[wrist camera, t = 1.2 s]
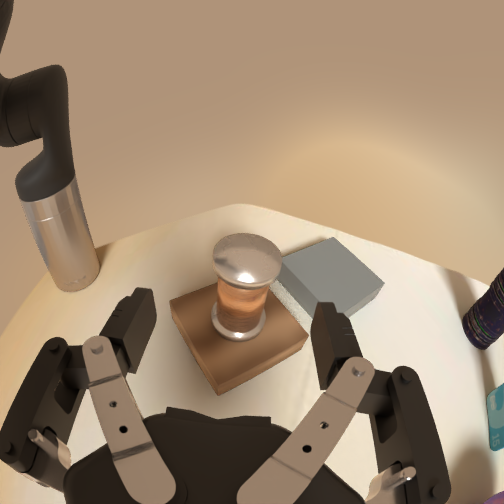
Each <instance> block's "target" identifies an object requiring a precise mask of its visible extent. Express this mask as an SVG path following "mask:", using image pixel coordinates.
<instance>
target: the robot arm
mask: <svg viewBox="0 0 504 504" xmlns="http://www.w3.org/2000/svg"><path fill="white" fill-rule="evenodd" d="M13 3H14V0H0V52H1V49H2V46H3V43H4V40H5V37H6V33H7V30H8V27H9V24H10V20H11V16H12V11H13ZM39 138H43V145H44V147H43V151H42V152H41V153H40V154H39V155H38V156H37V157H35V158H34V159H33V160H31V161H30V162H29V163H27V164H26V165H25V166H24V167H23V168H22V169H21V170H20V172H19V173H18V174H17V176H16V180H15V185H16V189H17V192H18V196H19V199H20V202H21V204H22V208H23V210H24V213H25V216H26V218H27V221H28V224H29V226H30V229H31V232H32V234H33V237H34V239H35V241H36V244H37V246H38V248H39V250H40V253H41V255H42V257H43V259H44V261H45V264H46V266H47V268H48V270H49V272H50V274H51V276H52V278H53V280H54V282H55V284H56V285H57V287H58V288H60V289H61V290H63V291H67V292H74V291H78V290H81V289H83V288H85V287H87V286H88V285H90V284H91V283H92V282H93V281H94V280H95V278H96V277H97V275H98V273H99V269H100V264H99V260H98V257H97V254H96V251H95V248H94V245H93V241H92V238H91V235H90V232H89V228H88V224H87V221H86V217H85V213H84V209H83V205H82V201H81V197H80V193H79V188H78V184H77V180H76V174H75V169H74V163H73V156H72V148H71V140H70V131H69V113H68V84H67V77H66V73H65V71H64V69H63V68H62V66H60V65H51V66H47V67H44V68H40V69H37V70H34V71H31V72H29V73H25V74H23V75H20V76H18V77H15V78H12V79H8V78H5V77H3V76H2V75H1V74H0V146H2V147H14V146H18V145H21V144H24V143H27V142H30V141H33V140H36V139H39ZM156 318H157V314H156V308H155V302H154V297H153V291H152V289H147V288H139V287H137V288H136V289H135V290H134V292H133V294H132V295H131V297H130V296H126V297H125V298H123V299H122V300H121V301H120V302H119V303H118V304H117V306H116V308H115V310H114V311H113V312H112V314H111V316H110V317H109V319H108V321H107V322H106V324H105V326H104V327H103V329H102V331H101V332H100V334H99V336H94V337H91V338H89V339H88V340H87V341H86V342H85V343H84V344H83V345H79V346H68V344H67V342H66V341H65V340H64V339H63V338H61V337H54V338H51V339H49V340H48V341H47V342H46V343H45V344H44V345H43V347H42V349H41V350H40V352H39V354H38V355H37V357H36V359H35V361H34V362H33V364H32V366H31V368H30V370H29V371H28V373H27V375H26V377H25V379H24V381H23V383H22V385H21V387H20V389H19V391H18V393H17V395H16V397H15V399H14V401H13V403H12V405H11V407H10V410H9V412H8V414H7V416H6V419H5V421H4V423H3V426H2V428H1V431H0V459H1V460H2V461H3V462H5V463H6V464H8V465H9V466H10V467H12V468H13V469H14V470H15V471H17V472H18V473H20V474H22V475H23V476H25V477H26V478H28V479H30V480H32V481H34V482H36V483H38V484H40V485H42V486H44V487H51V488H53V489H55V490H58V491H60V492H62V493H64V497H65V500H66V504H445V503H446V502H447V500H448V499H449V497H450V494H451V484H450V479H449V475H448V470H447V466H446V462H445V458H444V454H443V450H442V446H441V442H440V439H439V435H438V432H437V429H436V425H435V422H434V419H433V416H432V413H431V410H430V407H429V404H428V401H427V398H426V395H425V392H424V389H423V387H422V384H421V381H420V379H419V376H418V374H417V373H416V372H415V371H414V370H413V369H412V368H410V367H407V366H399V367H397V368H395V369H394V370H393V372H392V373H390V372H385V371H380V370H376V369H374V367H373V365H372V363H371V362H370V361H368V360H367V359H365V358H363V356H362V353H361V350H360V347H359V344H358V342H357V339H356V336H355V335H354V334H355V333H354V331H353V329H352V325H351V323H350V320H349V319H348V318H347V316H346V315H345V314H344V313H337V310H336V307H335V304H334V303H333V302H318V303H317V305H316V309H315V313H314V317H313V320H312V324H311V331H310V334H311V341H312V346H313V352H314V357H315V362H316V368H317V373H318V379H319V385H320V390H326V392H323V394H322V395H321V396H320V397H319V399H318V400H317V402H316V403H315V404H314V406H313V407H312V408H311V410H310V411H309V412H308V414H307V415H306V416H305V417H304V419H303V420H302V421H301V422H300V424H299V425H298V426H297V427H296V429H295V430H294V431H293V432H291V431H289V430H287V429H286V428H283V427H281V426H279V425H276V424H272V423H271V417H262V416H240V417H233V418H226V419H214V418H211V417H208V416H205V415H203V414H200V413H197V412H194V411H191V410H184V409H178V408H172V407H167V409H166V413H161V414H156V415H152V416H149V417H146V418H143V416H142V414H141V412H140V410H139V408H138V406H137V403H136V401H135V399H134V397H133V395H132V392H131V390H130V388H129V385H128V383H127V381H126V375H127V373H128V372H129V373H133V374H136V371H137V369H138V366H139V364H140V361H141V358H142V356H143V353H144V351H145V348H146V346H147V344H148V341H149V339H150V336H151V334H152V331H153V329H154V327H155V324H156ZM58 382H59V383H58ZM86 389H89V391H90V394H91V397H92V401H93V404H94V407H95V410H96V413H97V416H98V419H99V422H100V425H101V428H102V430H103V433H104V436H105V438H106V441H107V444H105V445H103V446H102V447H100V448H99V449H97V450H96V451H94V452H92V453H91V454H89V455H88V456H86V457H84V458H83V459H81V460H79V461H78V462H76V463H74V464H73V465H72V466H71V454H70V450H69V448H68V447H67V442H68V439H69V436H70V433H71V430H72V427H73V424H74V421H75V418H76V415H77V412H78V410H79V407H80V404H81V402H82V399H83V396H84V394H85V391H86ZM356 412H359V413H365V414H369V418H370V423H371V429H372V434H373V440H374V446H375V452H376V459H377V466H378V473H379V474H378V475H377V476H375V477H374V478H373V479H372V481H371V483H370V486H369V494H368V496H367V498H366V499H365V500H364V499H363V498H362V497H361V496H360V495H359V494H358V493H357V492H356V491H355V490H354V489H352V488H351V487H350V486H349V485H348V484H347V483H346V482H344V481H343V480H342V479H341V478H340V477H339V476H338V475H337V474H335V473H334V472H333V471H332V470H331V469H330V468H329V467H328V466H327V465H326V464H325V463H324V462H325V461H326V459H327V458H328V456H329V455H330V453H331V452H332V450H333V449H334V447H335V446H336V444H337V443H338V441H339V440H340V438H341V436H342V435H343V433H344V432H345V430H346V428H347V427H348V425H349V423H350V422H351V420H352V418H353V416H354V415H355V413H356Z"/></svg>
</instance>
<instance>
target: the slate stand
mask: <svg viewBox="0 0 504 504" xmlns="http://www.w3.org/2000/svg"><path fill="white" fill-rule="evenodd" d="M277 280H278V281H279V282H280V283H281V284H282V285H283V286H284V287H285V288H286V290H287V291H288V292H289V293H290V294H291V295H292V296H293V297H294V298H295V300H296V301H297V302H298V303H299V304H300V305H301V306H302V307H303V309H304V310H305V311H306V312H307V313H308V314H309V315H310V316H311V317H312V319H313V317H314V313H315V309H316V305H317V303H318V302H333V303H334V304H335V307H336V310H337V313H344V314H345V315H346V316H347V318H349V317H350V316H351V315H353V314H354V313H356V312H357V311H358V310H360V309H361V308H362V307H364V306H365V305H366V304H368V303H369V302H370V301H372V300H373V299H374V298H375V297H376V296H377V294H378V293H379V291H380V290H381V288H382V287H383V285H384V282H383V281H382V280H381V279H380V278H379V277H378V276H377V275H375V274H374V273H373V272H372V271H371V270H370V269H369V268H368V267H367V266H366V265H365V264H363V263H362V262H361V261H360V260H359V259H358V258H357V257H356V256H355V255H353V254H352V253H351V252H350V251H349V250H348V249H347V248H346V247H344V246H343V245H342V244H341V243H340V242H339V241H338V240H336V239H335V238H334V237H332V238H329V239H327V240H324V241H322V242H319V243H317V244H314V245H312V246H309V247H307V248H304V249H302V250H299V251H297V252H294V253H292V254H289V255H287V256H284V257H282V265H281V269H280V272H279V275H278V278H277Z"/></svg>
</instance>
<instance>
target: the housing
mask: <svg viewBox="0 0 504 504" xmlns="http://www.w3.org/2000/svg"><path fill="white" fill-rule="evenodd" d="M281 265H282V255H281V252H280V250H279V249H278V248H277V246H276V245H275V244H273V243H272V242H271V241H269V240H268V239H266V238H264V237H261V236H258V235H255V234H248V233H239V234H233V235H230V236H227V237H225V238H223V239H222V240H220V241H219V242H218V243H217V245H216V246H215V248H214V252H213V268H214V271H215V273H216V274H217V276H218V290H217V301H216V302H215V304H214V305H213V307H212V312H211V322H212V326H213V328H214V330H215V331H216V332H217V333H218V334H219V335H220V336H221V337H222V338H224V339H226V340H229V341H232V342H247V341H250V340H252V339H254V338H256V337H257V336H258V335H259V334H260V333H261V331H262V329H263V326H264V323H265V319H266V314H265V310H264V305H265V301H266V297H267V294H268V290H269V286H270V285H271V284H272V283H273V282H274V281H275V280H276V279H277V278H278V275H279V272H280V269H281Z"/></svg>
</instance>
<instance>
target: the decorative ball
mask: <svg viewBox="0 0 504 504" xmlns="http://www.w3.org/2000/svg"><path fill="white" fill-rule="evenodd" d="M483 504H504V491H502V492H500V493H498V494H496V495H494V496H492V497H491V498H489V499H488V500H487V501H486V502H484V503H483Z"/></svg>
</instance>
